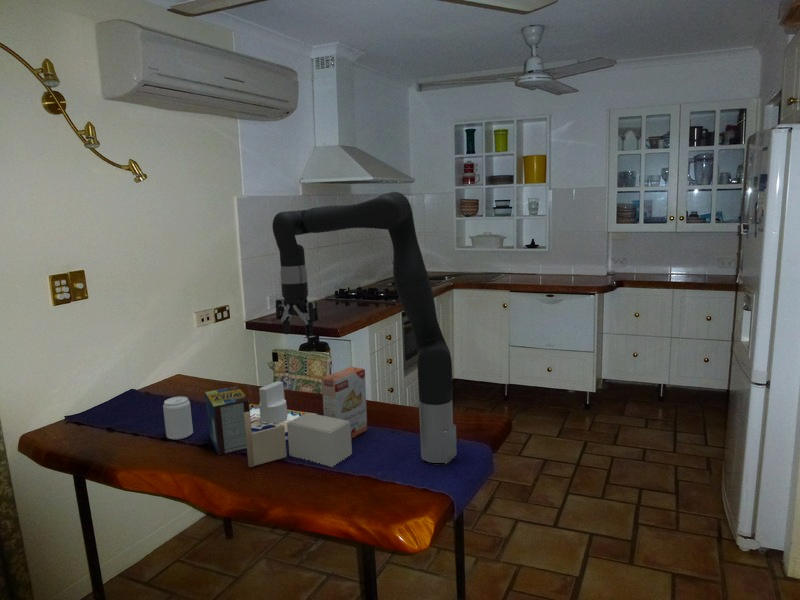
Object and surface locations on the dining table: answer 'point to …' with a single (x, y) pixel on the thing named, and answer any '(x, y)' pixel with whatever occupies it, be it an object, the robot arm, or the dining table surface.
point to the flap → (264, 443)
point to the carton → (319, 439)
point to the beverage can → (177, 418)
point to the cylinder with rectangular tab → (273, 403)
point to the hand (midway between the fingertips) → (298, 335)
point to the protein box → (227, 419)
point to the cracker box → (346, 398)
